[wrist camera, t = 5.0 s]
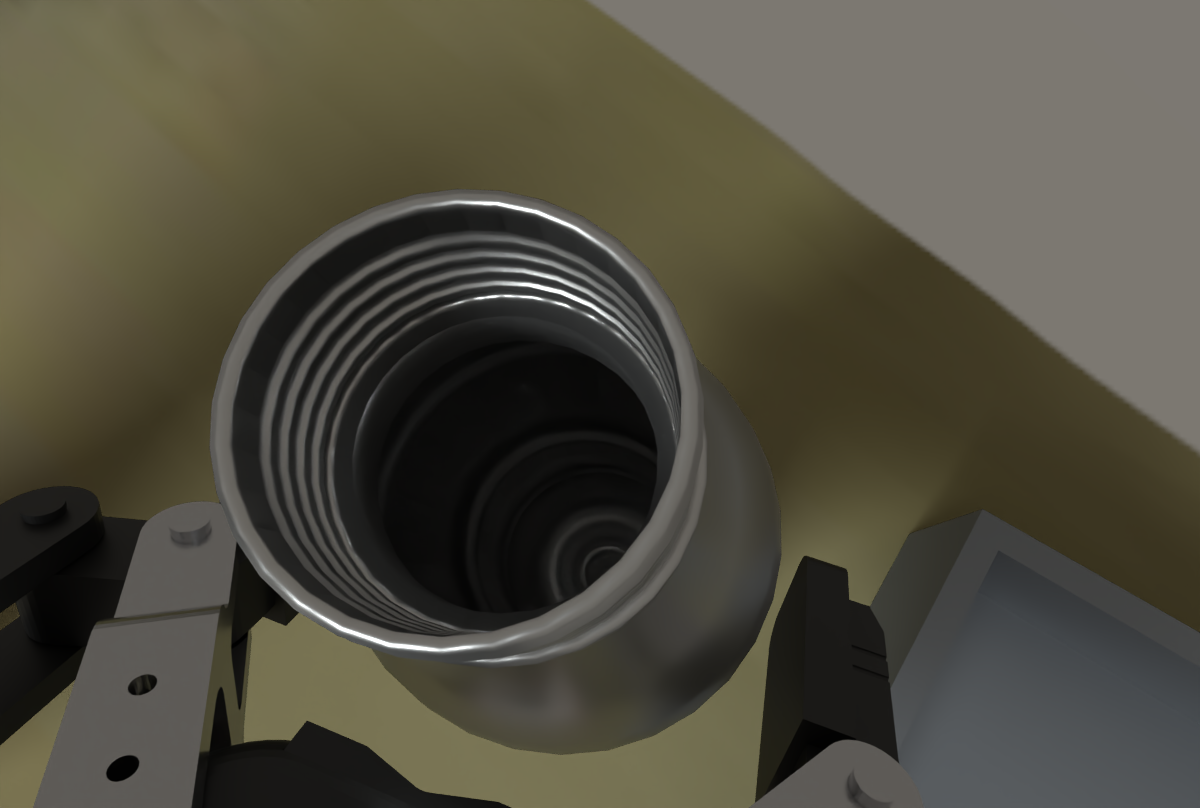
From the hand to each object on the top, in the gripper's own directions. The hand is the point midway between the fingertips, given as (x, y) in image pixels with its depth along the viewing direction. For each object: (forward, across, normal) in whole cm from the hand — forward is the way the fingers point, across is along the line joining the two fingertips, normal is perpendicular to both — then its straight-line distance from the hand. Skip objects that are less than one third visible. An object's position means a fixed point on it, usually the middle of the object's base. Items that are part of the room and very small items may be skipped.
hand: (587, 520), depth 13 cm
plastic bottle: (+8, 0, +8) cm, 12 cm away
